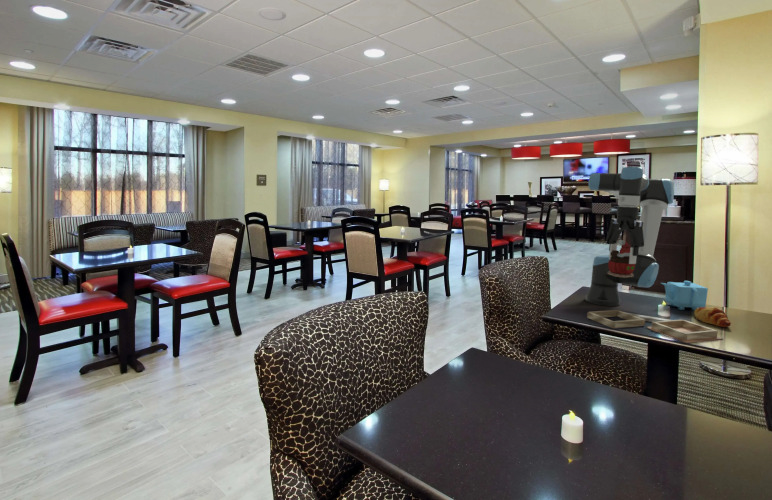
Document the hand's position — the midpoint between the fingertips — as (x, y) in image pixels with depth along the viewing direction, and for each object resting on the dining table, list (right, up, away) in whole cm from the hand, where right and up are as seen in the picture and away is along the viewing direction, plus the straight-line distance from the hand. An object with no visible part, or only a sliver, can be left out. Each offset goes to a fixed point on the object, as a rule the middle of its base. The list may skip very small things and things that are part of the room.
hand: (621, 261), depth 174 cm
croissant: (+43, -26, +8) cm, 51 cm away
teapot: (+43, -23, +29) cm, 57 cm away
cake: (0, -6, +1) cm, 6 cm away
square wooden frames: (+9, -26, -3) cm, 28 cm away
